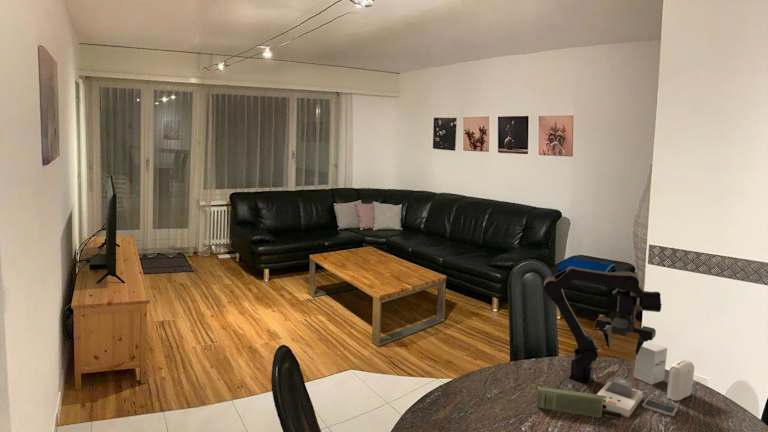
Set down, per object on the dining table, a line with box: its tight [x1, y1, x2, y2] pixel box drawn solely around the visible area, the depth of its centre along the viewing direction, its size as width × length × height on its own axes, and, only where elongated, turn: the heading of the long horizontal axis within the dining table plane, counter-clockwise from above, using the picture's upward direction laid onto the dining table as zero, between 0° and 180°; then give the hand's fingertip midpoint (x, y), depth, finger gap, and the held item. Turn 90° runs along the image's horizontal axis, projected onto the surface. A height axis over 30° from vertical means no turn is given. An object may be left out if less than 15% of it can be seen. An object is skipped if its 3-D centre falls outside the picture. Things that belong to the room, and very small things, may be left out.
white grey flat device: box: [596, 380, 644, 418], centre depth 170 cm, size 11×16×3 cm
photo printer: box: [666, 359, 695, 402], centre depth 174 cm, size 10×4×12 cm, turn 123°
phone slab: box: [642, 398, 678, 418], centre depth 166 cm, size 5×9×1 cm, turn 50°
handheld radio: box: [536, 386, 622, 418], centre depth 163 cm, size 7×3×25 cm
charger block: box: [611, 376, 633, 398], centre depth 172 cm, size 5×5×6 cm
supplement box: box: [633, 340, 668, 386], centre depth 186 cm, size 7×7×13 cm
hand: (622, 351), depth 181 cm, fingers open, 9 cm apart
